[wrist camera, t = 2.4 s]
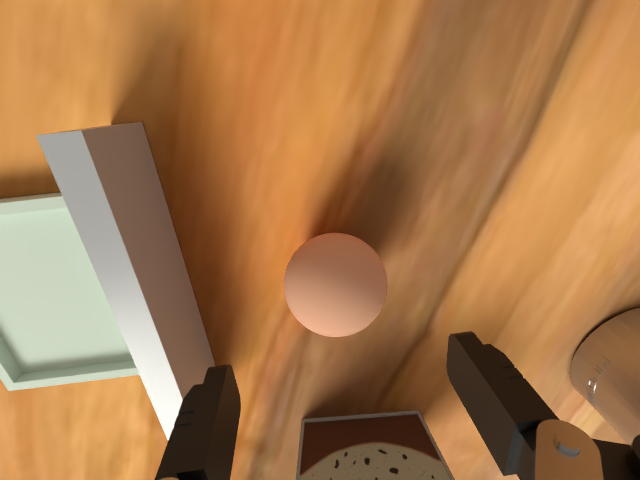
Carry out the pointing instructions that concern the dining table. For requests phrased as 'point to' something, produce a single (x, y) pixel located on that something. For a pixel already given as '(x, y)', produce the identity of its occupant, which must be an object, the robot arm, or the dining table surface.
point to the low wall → (134, 255)
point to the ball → (335, 284)
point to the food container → (370, 448)
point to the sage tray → (52, 301)
